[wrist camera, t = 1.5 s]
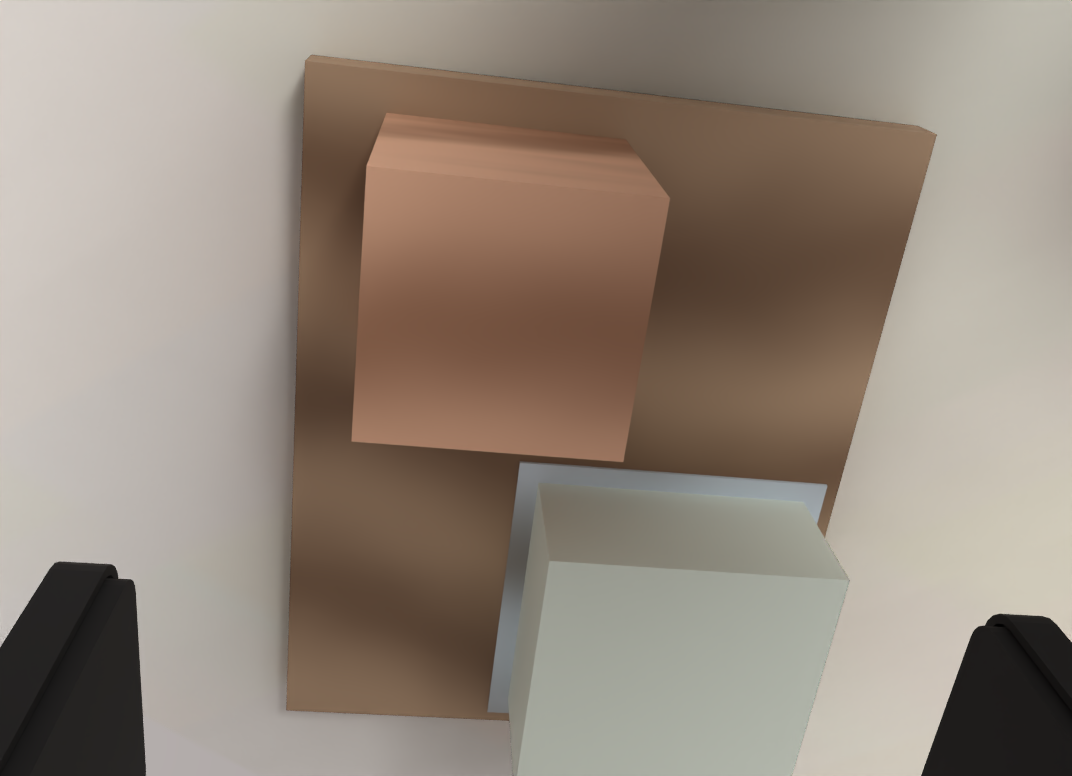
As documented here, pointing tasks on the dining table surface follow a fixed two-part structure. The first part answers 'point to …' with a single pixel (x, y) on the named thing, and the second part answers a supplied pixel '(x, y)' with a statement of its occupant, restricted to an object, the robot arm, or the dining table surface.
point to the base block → (669, 634)
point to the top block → (503, 288)
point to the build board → (663, 383)
